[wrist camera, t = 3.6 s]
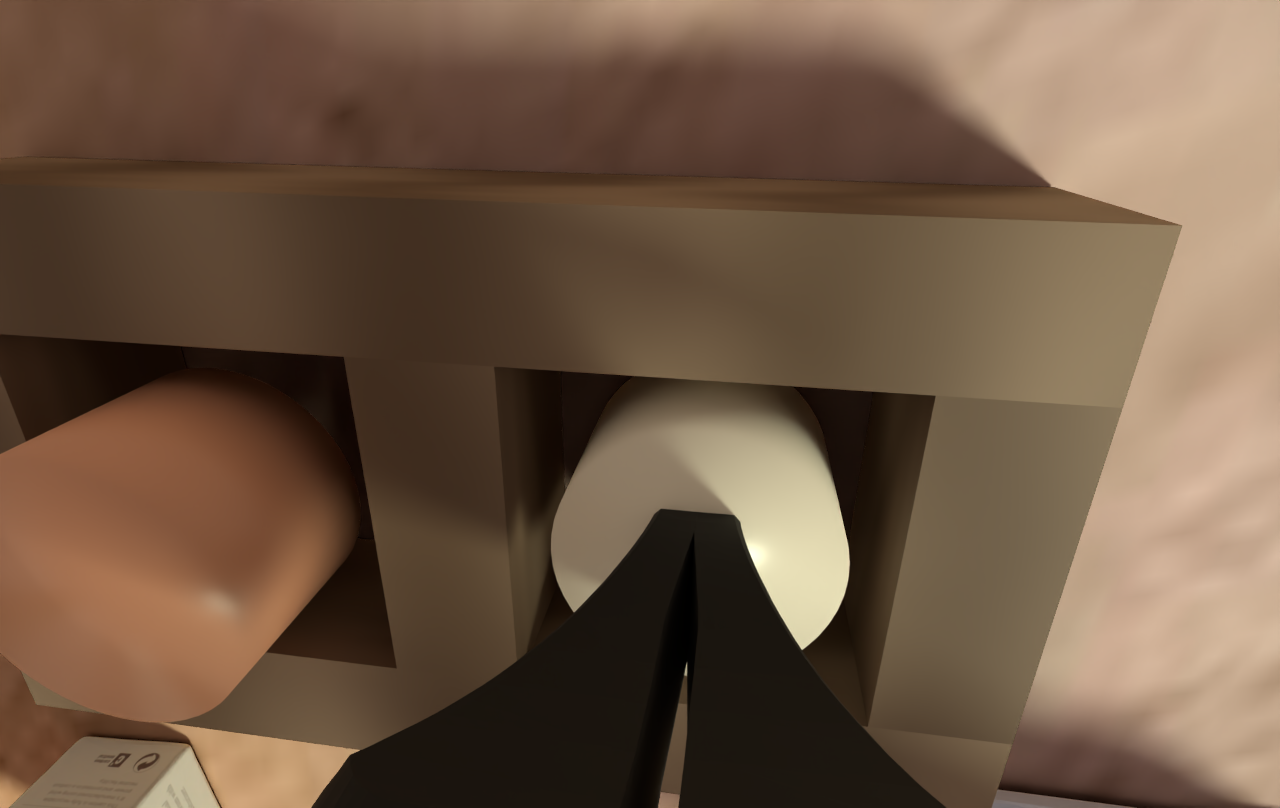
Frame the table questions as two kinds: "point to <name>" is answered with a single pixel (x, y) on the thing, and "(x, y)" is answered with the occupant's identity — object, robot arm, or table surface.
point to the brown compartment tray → (621, 345)
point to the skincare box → (121, 777)
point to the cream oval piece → (710, 489)
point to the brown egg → (168, 542)
